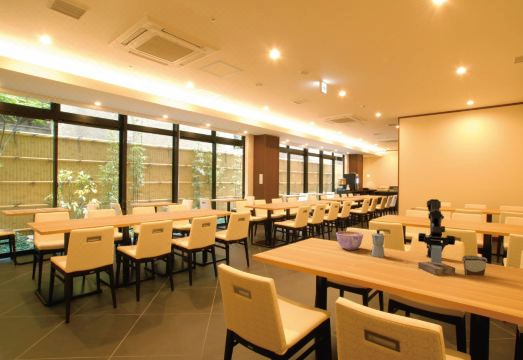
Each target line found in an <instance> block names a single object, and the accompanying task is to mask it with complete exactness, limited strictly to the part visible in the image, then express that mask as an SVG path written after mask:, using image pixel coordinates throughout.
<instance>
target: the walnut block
mask: <svg viewBox="0 0 523 360" xmlns="http://www.w3.org/2000/svg"><path fill="white" fill-rule="evenodd" d="M417 265H418V266H417V268H418V269H419V270H421V269H422V271H424V272H426V273H429V274H431V275H433V276H445V275H446V276H447V275H449V276H450V275H455V274H456V267H454V266H452V265H448V264H445V263H443V262H442V264H441V263H433V262H431V261H420V262H418V263H417Z"/></svg>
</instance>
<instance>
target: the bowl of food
mask: <svg viewBox="0 0 523 360" xmlns="http://www.w3.org/2000/svg"><path fill="white" fill-rule="evenodd" d="M335 234H336V238H337V243H338V245H339V246H340V247H341V248H343V249H344V250H348V251H355V250H357V249H358V248H360V246H361V245H362V242H363V238H364V233H362V232H359V231H350V230H349V231H348V230H346V231H345V230H342V231H341V230H339V231H337V232H335Z"/></svg>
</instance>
